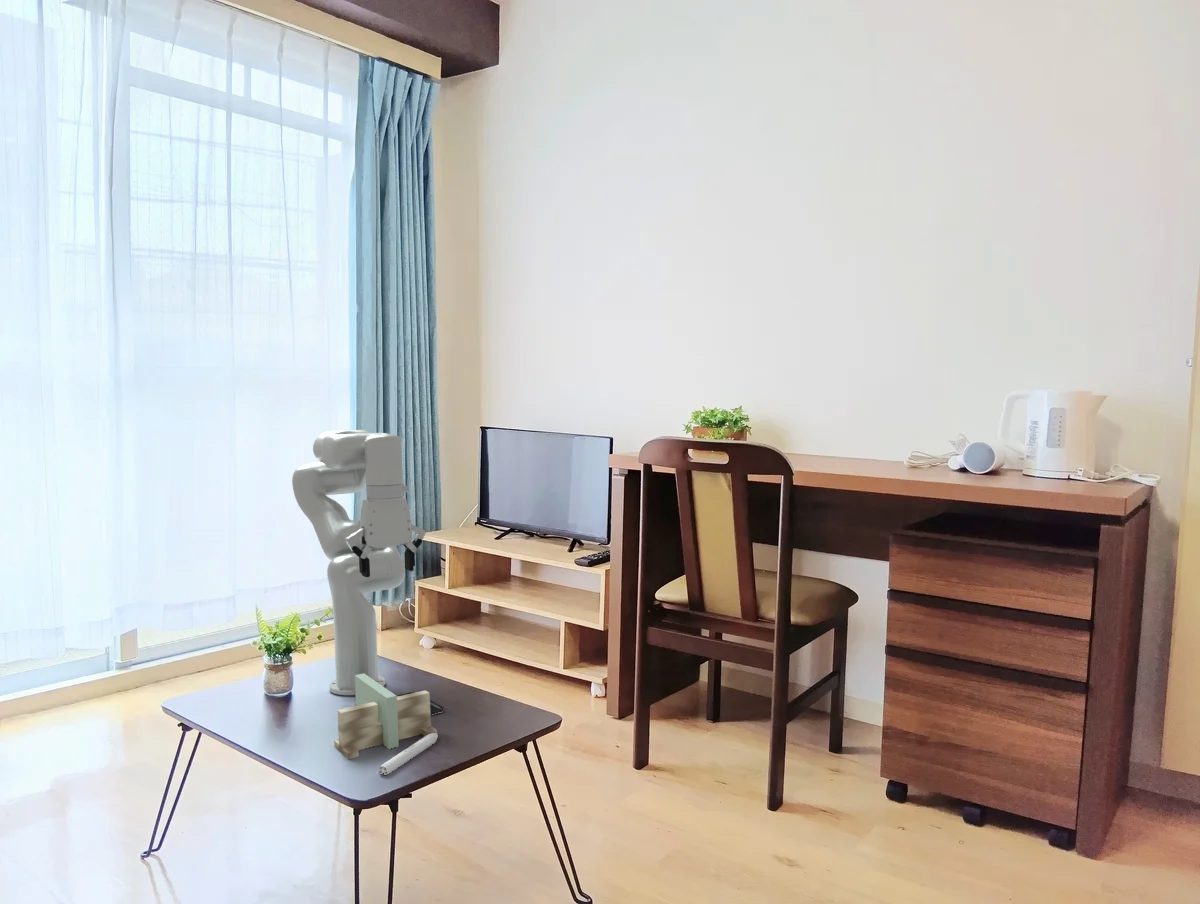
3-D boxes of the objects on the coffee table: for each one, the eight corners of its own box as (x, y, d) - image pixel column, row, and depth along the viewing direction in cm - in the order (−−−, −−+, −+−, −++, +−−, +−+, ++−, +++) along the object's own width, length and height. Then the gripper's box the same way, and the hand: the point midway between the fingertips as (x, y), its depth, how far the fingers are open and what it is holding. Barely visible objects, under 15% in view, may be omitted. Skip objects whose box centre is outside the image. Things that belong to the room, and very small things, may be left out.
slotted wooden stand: (348, 759, 162) (346, 717, 162) (334, 746, 169) (332, 705, 168) (437, 736, 173) (435, 696, 172) (421, 724, 179) (419, 686, 179)
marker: (433, 739, 172) (432, 727, 172) (442, 740, 171) (441, 728, 171) (377, 776, 155) (377, 763, 155) (387, 777, 155) (387, 765, 154)
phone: (414, 691, 198) (445, 708, 186) (415, 696, 198) (445, 713, 186) (382, 699, 193) (411, 717, 182) (382, 704, 194) (411, 722, 182)
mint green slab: (398, 746, 168) (396, 695, 167) (388, 749, 167) (386, 698, 166) (365, 720, 183) (364, 673, 182) (356, 722, 181) (354, 675, 181)
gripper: (416, 488, 192) (419, 565, 193) (338, 495, 182) (341, 576, 183) (430, 491, 185) (433, 570, 186) (350, 497, 176) (354, 581, 177)
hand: (387, 573), depth 185 cm, fingers open, 9 cm apart
